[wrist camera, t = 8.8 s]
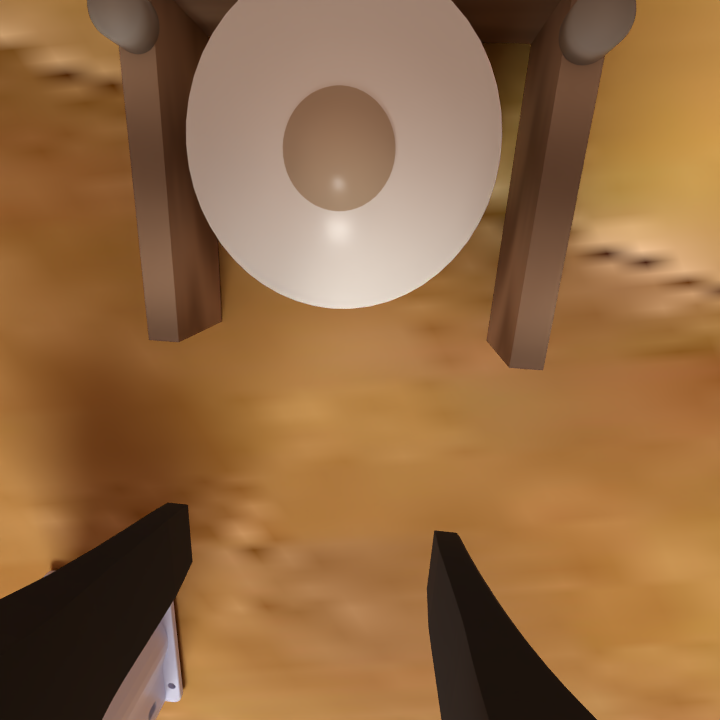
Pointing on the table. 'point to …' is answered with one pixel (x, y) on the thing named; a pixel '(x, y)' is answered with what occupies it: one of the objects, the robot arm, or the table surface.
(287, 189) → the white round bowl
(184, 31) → the cradle
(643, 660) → the table surface
